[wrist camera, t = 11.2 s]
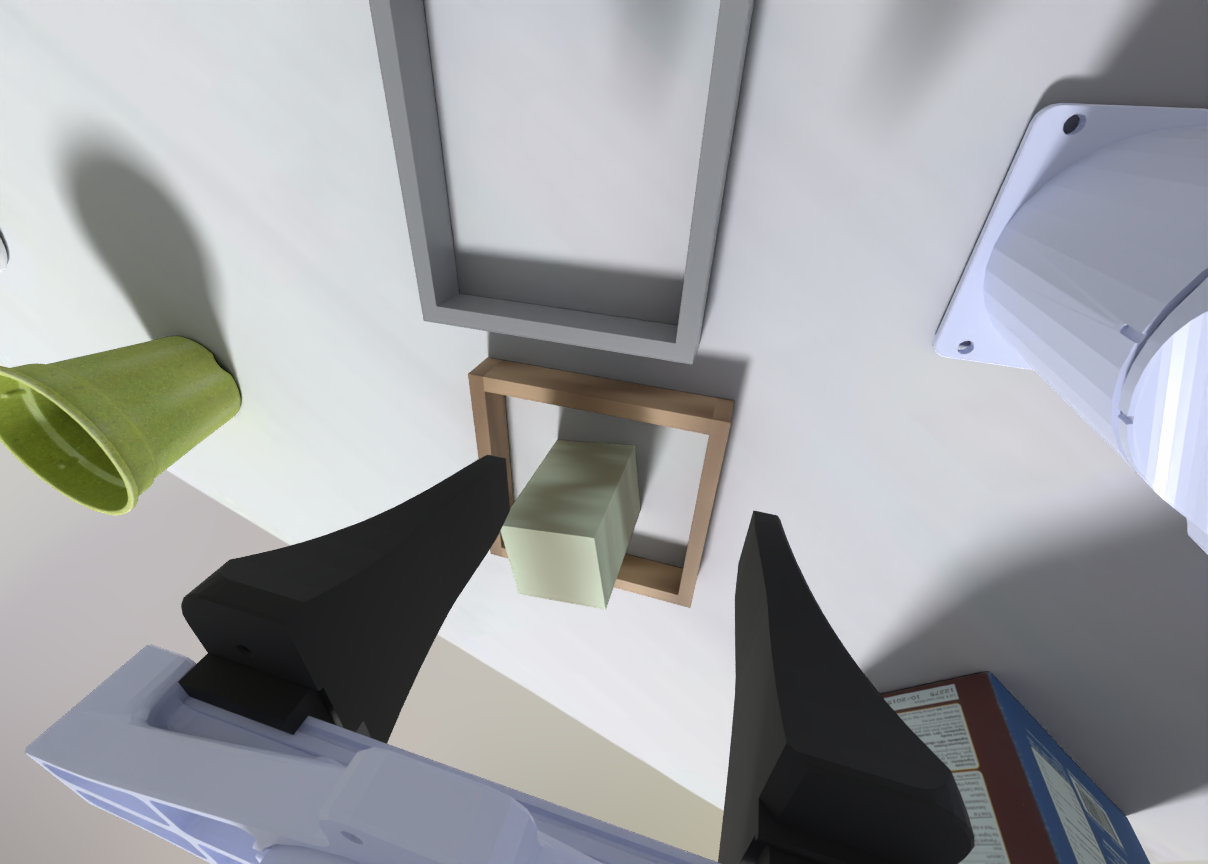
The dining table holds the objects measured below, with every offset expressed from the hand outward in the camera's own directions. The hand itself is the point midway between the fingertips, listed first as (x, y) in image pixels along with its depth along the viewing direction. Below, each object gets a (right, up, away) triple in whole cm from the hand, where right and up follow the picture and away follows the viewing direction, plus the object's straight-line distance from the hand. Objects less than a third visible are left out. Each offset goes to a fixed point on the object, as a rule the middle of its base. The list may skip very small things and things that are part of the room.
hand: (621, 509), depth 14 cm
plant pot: (-27, +6, +19) cm, 34 cm away
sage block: (-1, 0, +13) cm, 13 cm away
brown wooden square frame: (-1, 0, +14) cm, 13 cm away
